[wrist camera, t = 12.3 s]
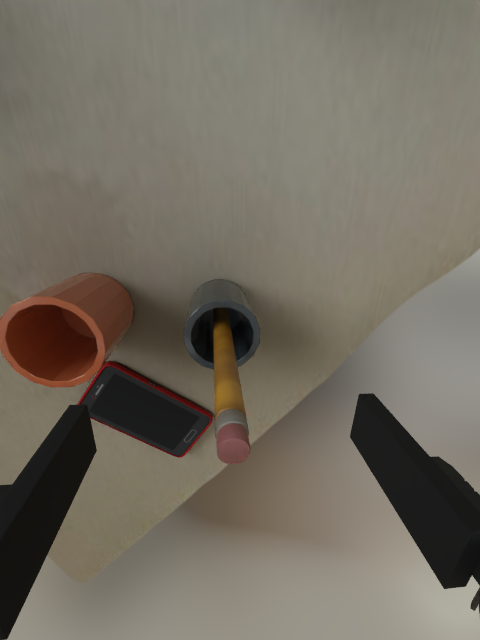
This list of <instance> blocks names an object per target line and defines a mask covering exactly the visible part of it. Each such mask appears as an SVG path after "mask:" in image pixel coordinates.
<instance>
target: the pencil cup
mask: <svg viewBox="0 0 480 640" xmlns="http://www.w3.org/2000/svg"><path fill="white" fill-rule="evenodd" d="M133 317H134V307H133V302H132V299H131V297H130V295H129V294H128V292H127V291H126V289H125V288H124V287H123V286H122V285H121V284H120V283H119V282H117V281H116V280H114V279H112V278H111V277H108V276H106V275H103V274H99V273H83V274H79V275H76V276H74V277H72V278H69V279H67V280H65V281H62V282H60V283H58V284H56V285H54V286H52V287H49V288H47V289H45V290H43V291H41V292H38V293H36V294H34V295H32V296H30V297H28V298H25V299H23V300H21V301H19V302H17V303H14V304H12V305H11V306H10V308H9V309H8V310H7V311H6V312H5V313H4V315H3V316H2V317H1V318H0V350H1V353H2V355H3V357H4V358H5V359H6V360H7V362H8V363H9V364H10V365H11V367H12V368H13V369H14V370H15V371H16V372H18V373H19V374H21V375H22V376H24V377H26V378H27V379H29V380H30V381H33V382H34V383H38V384H41V385H45V386H49V387H73V386H75V385H78V384H81V383H83V382H86V381H88V380H90V379H91V378H92V377H93V376H94V375H95V374H96V373H97V372H98V371H99V370H100V369H101V367H102V366H103V365H104V363H105V362H106V360H107V359H108V358H109V356H110V355H111V353H112V352H113V350H114V349H115V348H116V346H117V345H118V343H119V342H120V341H121V339H122V338H123V336H124V335H125V334H126V332H127V331H128V329H129V327H130V325H131V323H132V321H133Z"/></svg>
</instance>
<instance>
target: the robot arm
mask: <svg viewBox="0 0 480 640" xmlns="http://www.w3.org/2000/svg"><path fill="white" fill-rule="evenodd" d="M350 438H351V439H352V441H353V442H354V444H355V446H356V447H357V449H358V450H359V452H360V454H361V455H362V457H363V458H364V460H365V462H366V463H367V465H368V467H369V468H370V470H371V472H372V473H373V475H374V476H375V478H376V479H377V481H378V483H379V484H380V486H381V488H382V489H383V491H384V493H385V494H386V496H387V497H388V499H389V501H390V502H391V504H392V505H393V507H394V509H395V510H396V512H397V513H398V515H399V517H400V518H401V520H402V522H403V523H404V525H405V526H406V528H407V530H408V531H409V533H410V535H411V536H412V538H413V539H414V541H415V543H416V544H417V546H418V547H419V549H420V550H421V552H422V554H423V556H424V557H425V559H426V560H427V562H428V563H429V565H430V567H431V568H432V570H433V572H434V573H435V575H436V576H437V578H438V580H439V581H440V583H441V585H442V586H443V588H444V589H448V588H456V587H465V586H466V585H467V583H468V581H469V579H470V577H471V576H472V575H473V577H474V578H475V580H476V581H477V582H478V584H479V585H480V495H479V494H478V493H477V492H475V491H474V489H473V488H472V487H471V485H470V484H469V483H468V482H467V481H464V478H463V477H462V476H461V475H460V474H459V473H458V472H457V471H456V470H455V469H454V468H453V467H452V466H451V465H450V464H448V463H447V462H445V461H444V460H442V459H441V458H440V457H430V456H429V455H428V454H427V453H426V452H425V451H424V450H423V449H422V447H421V446H420V445H419V444H418V443H417V442H416V441H415V440H414V438H413V437H412V436H411V435H410V434H409V433H408V432H407V431H406V430H405V428H404V427H403V426H402V425H401V424H400V423H399V422H398V421H397V420H396V419H395V417H394V416H393V415H392V414H391V413H390V412H389V410H388V409H386V407H385V406H384V405H383V404H382V403H381V402H380V400H379V399H378V398H377V397H376V396H375V395H374V394H359V397H358V401H357V406H356V411H355V416H354V420H353V425H352V430H351V435H350ZM96 451H97V450H96V445H95V440H94V435H93V430H92V425H91V420H90V415H89V410H88V405H70V406H69V407H68V408H67V410H66V411H65V412H64V414H63V415H62V417H61V418H60V419H59V421H58V422H57V423H56V425H55V426H54V428H53V429H52V430H51V432H50V433H49V435H48V436H47V437H46V439H45V440H44V441H43V443H42V444H41V446H40V447H39V448H38V450H37V451H36V453H35V454H34V455H33V457H32V458H31V459H30V461H29V462H28V464H27V465H26V466H25V468H24V469H23V471H22V472H21V473H20V475H19V476H18V477H17V479H16V480H15V482H14V483H13V484H12V485H0V640H5V639H7V638H8V636H9V634H10V632H11V630H12V628H13V626H14V624H15V622H16V619H17V617H18V615H19V613H20V611H21V609H22V607H23V605H24V603H25V601H26V598H27V596H28V594H29V592H30V589H31V588H32V586H33V583H34V582H35V579H36V577H37V575H38V573H39V571H40V569H41V566H42V565H43V562H44V560H45V558H46V556H47V554H48V552H49V550H50V548H51V546H52V544H53V541H54V539H55V537H56V535H57V533H58V531H59V529H60V527H61V525H62V522H63V520H64V518H65V516H66V514H67V512H68V510H69V508H70V506H71V503H72V501H73V499H74V497H75V495H76V493H77V491H78V489H79V487H80V484H81V482H82V480H83V478H84V476H85V474H86V472H87V470H88V468H89V466H90V463H91V461H92V459H93V457H94V455H95V453H96ZM478 604H479V612H480V588H479V590H478V591H477V593H476V595H475V597H474V598H473V600H472V603H471V609H472V610H474V611H475V610H476V608H477V606H478Z"/></svg>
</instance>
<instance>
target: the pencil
mask: <svg viewBox="0 0 480 640" xmlns="http://www.w3.org/2000/svg"><path fill="white" fill-rule="evenodd" d="M213 340H214V394H215V437H216V440H217V455H218V457H219V459H220V460H221V461H222V462H224V463H227V464H238V463H241V462H243V461H244V460H246V459H247V457H248V456H249V454H250V444H249V438H248V435H249V430H248V424H247V419H246V413H245V407H244V401H243V395H242V390H241V384H240V378H239V372H238V366H237V361H236V355H235V349H234V343H233V337H232V332H231V326H230V320H229V314H228V309H227V308H214V309H213Z"/></svg>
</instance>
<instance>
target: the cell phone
mask: <svg viewBox="0 0 480 640" xmlns="http://www.w3.org/2000/svg"><path fill="white" fill-rule="evenodd" d="M78 405H88V410H89V415H90V418H91V419H94V420H96V419H97V420H96V421H98V422H100V423H102V424H105V423H106V424H105V425H107V424H108V425H107V426H109V427H111V428H113V429H116V430H118V431H120V432H122V433H124V434H127V435H129V436H131V437H133V438H135V439H137V440H140V441H142V442H144V443H146V444H148V445H151V446H153V447H155V448H157V449H159V450H162V451H164V452H166V453H168V454H170V455H173V456H176V457H179V458H180V457H183V456H184V455H185V454H186V453H187V452H188V451H189V450H190V449H191V448H192V446H193V445H194V444H195V443H196V442H197V440H198V439H199V438H200V437H201V435H202V434H203V433H204V432H205V431H206V429H207V428H208V427H209V426H210V424H211V423H212V420H213V416H212V414H210V413H209V412H208V411H206V410H204V409H202V408H200V407H198V406H196V405H195V404H193V403H191V402H189V401H187V400H185V399H183V398H181V397H179V396H177V395H176V394H174V393H172V392H170V391H168V390H166V389H164V388H162V387H160V386H158V385H156V384H154V383H152V382H150V381H149V380H148V379H146V378H144V377H142V376H140V375H138V374H136V373H134V372H132V371H130V370H128V369H127V368H125V367H123V366H121V365H119V364H117V363H114V362H111V361H108V362H106V363H105V364H104V365H103V366H102V367H101V369H100V370H99V372H98V373H97V375H96V376H95V378H94V379H93V381H92V382H91V384H90V386H89V387H88V389H87V390H86V392H85V393H84V395H83V396H82V398H81V399H80V401H79V403H78Z"/></svg>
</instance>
